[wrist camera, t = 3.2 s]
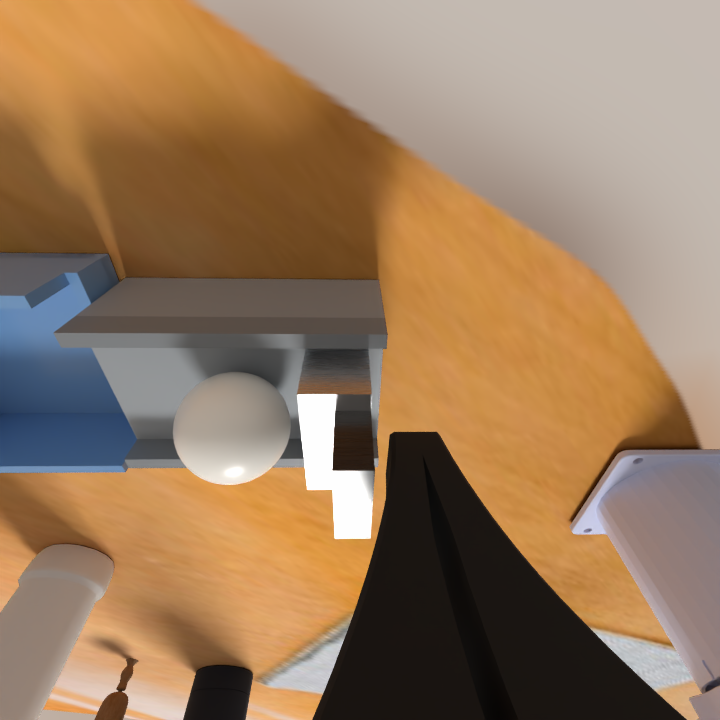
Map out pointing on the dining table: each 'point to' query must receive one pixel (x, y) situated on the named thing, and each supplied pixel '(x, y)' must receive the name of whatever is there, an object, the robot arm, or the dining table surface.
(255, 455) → the ball
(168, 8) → the dining table surface
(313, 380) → the grey angular hollow piece
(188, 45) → the dining table surface
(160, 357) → the open gray tray
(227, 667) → the wine bottle
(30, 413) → the open box
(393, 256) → the dining table surface
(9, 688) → the bottle
